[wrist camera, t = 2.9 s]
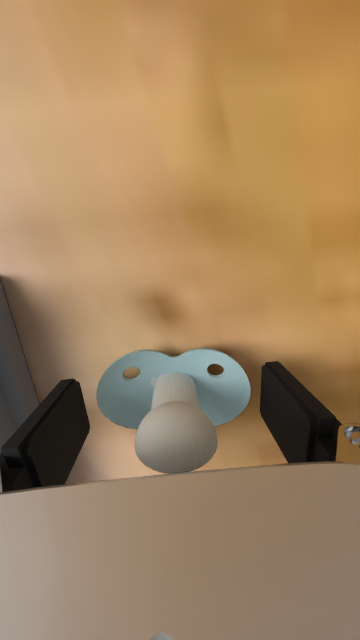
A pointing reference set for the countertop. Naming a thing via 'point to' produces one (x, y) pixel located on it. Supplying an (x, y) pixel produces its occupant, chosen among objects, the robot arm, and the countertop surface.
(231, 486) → the robot arm
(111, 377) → the pacifier
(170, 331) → the countertop surface
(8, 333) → the holder
